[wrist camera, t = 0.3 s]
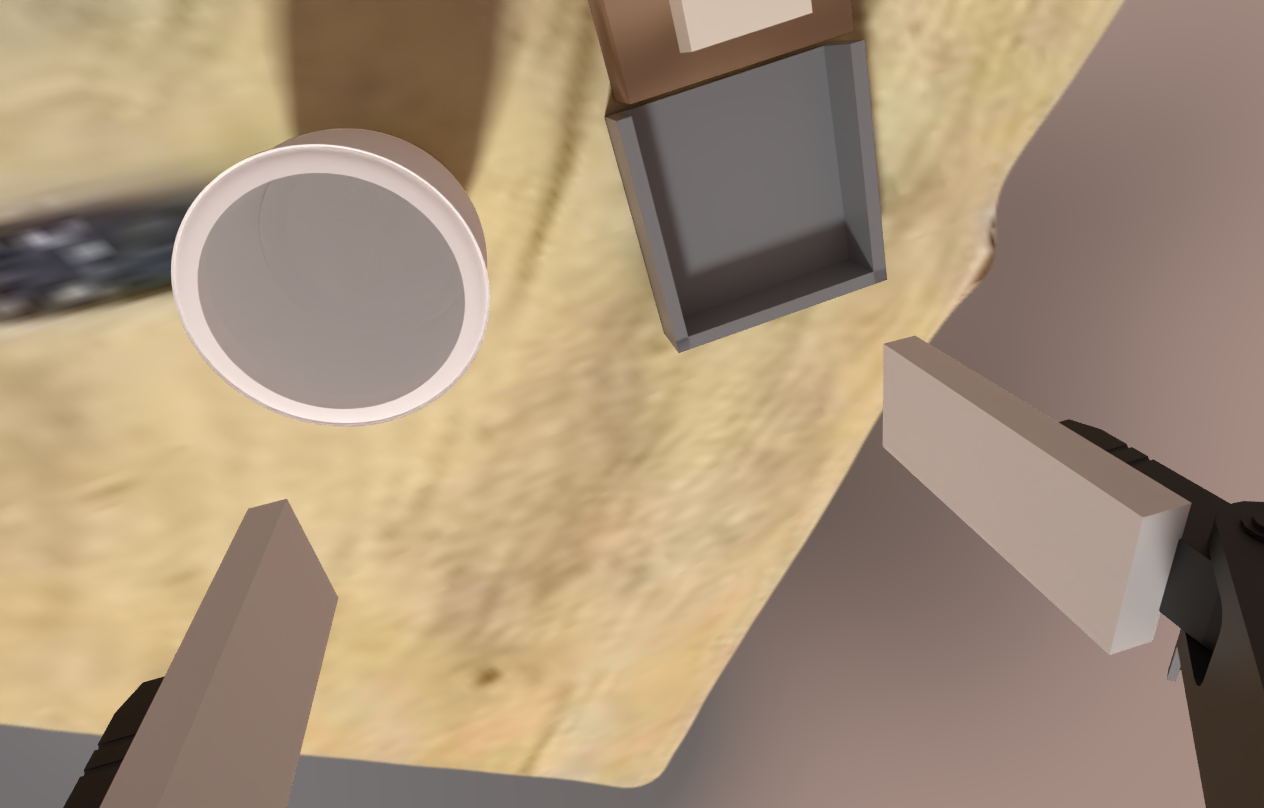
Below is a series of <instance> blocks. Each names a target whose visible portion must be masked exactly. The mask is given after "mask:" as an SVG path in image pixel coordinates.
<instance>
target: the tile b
mask: <svg viewBox="0 0 1264 808" xmlns="http://www.w3.org/2000/svg"><path fill="white" fill-rule="evenodd" d="M669 3H670V8H671V13H672V17H673V22H674V27H675V31H676V36H677V41H678V45H679V50H680V53H685V52H693V51H696V50H699V49H703V48H706V47H709V46H712V45H715V44H718V43H721V42H724V41H727V40H730V39H733V38H736V37H739V36H743V35H746V34H749V33H752V32H755V31H758V30H761V29H764V28H767V27H770V26H773V25H776V24H779V23H783V22H786V21H789V20H792V19H795V18H798V17H801V16H804V15H807V14H810V13H813V12H812V4H811V0H669Z"/></svg>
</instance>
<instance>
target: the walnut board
mask: <svg viewBox="0 0 1264 808" xmlns="http://www.w3.org/2000/svg"><path fill="white" fill-rule="evenodd" d="M588 1H589V5H590V8H591V12H592V16H593V20H594V23H595V27H596V31H597V35H598V39H599V42H600V46H601V50H602V54H603V57H604V61H605V65H606V69H607V72H608V76H609V80H610V84H611V87H612V91H613V95H614V99H615V101H617V102H622V103H627V104H633V103H636V102H639V101H642V100H645V99H648V98H651V97H654V96H657V95H660V94H663V93H666V92H669V91H672V90H675V89H679V88H682V87H685V86H688V85H691V84H694V83H697V82H700V81H703V80H706V79H709V78H712V77H715V76H718V75H721V74H724V73H727V72H730V71H733V70H736V69H739V68H743V67H746V66H749V65H752V64H755V63H758V62H761V61H764V60H767V59H770V58H773V57H776V56H779V55H782V54H785V53H788V52H791V51H794V50H797V49H800V48H804V47H807V46H810V45H813V44H816V43H819V42H822V41H825V40H828V39H831V38H834V37H837V36H840V35H843V34H846V33H849V32H852V31H854V25H853V15H852V5H851V0H811V4H812V12H813V13H810V14H807V15H804V16H801V17H798V18H795V19H792V20H789V21H786V22H783V23H779V24H776V25H773V26H770V27H767V28H764V29H761V30H758V31H755V32H752V33H749V34H746V35H743V36H739V37H736V38H733V39H730V40H727V41H724V42H721V43H718V44H715V45H712V46H709V47H706V48H703V49H699V50H696V51H693V52H685V53H680V50H679V45H678V41H677V36H676V31H675V27H674V22H673V17H672V13H671V8H670V3H669V0H588Z"/></svg>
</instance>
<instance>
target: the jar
mask: <svg viewBox="0 0 1264 808" xmlns="http://www.w3.org/2000/svg"><path fill="white" fill-rule="evenodd" d="M171 280H172V289H173V295H174V300H175V304H176V308H177V311H178V314H179V317H180V319H181V322H182V324H183V327H184V329H185V331H186V333H187V335H188V337H189V338H190V340H191V342H192V343H193V345H194V347H195V348H196V350H197V351H198V352H199V354H200V355H201V356H202V358H203V359H204V360H205V361H206V363H207V364H208V365H209V366H210V367H211V368H212V369H213V370H214V371H215V372H216V373H217V374H218V375H219V376H220V377H221V378H222V379H223V380H224V381H225V382H226V383H228V384H229V385H230V386H231V387H233V388H234V389H235V390H237V391H238V392H239V393H241V394H242V395H244V396H245V397H247V398H248V399H250V400H252V401H253V402H255V403H257V404H259V405H261V406H263V407H265V408H267V409H269V410H271V411H274V412H276V413H278V414H281V415H284V416H287V417H290V418H293V419H296V420H300V421H304V422H309V423H314V424H320V425H328V426H365V425H372V424H378V423H383V422H387V421H391V420H395V419H398V418H401V417H404V416H406V415H409V414H411V413H413V412H416V411H418V410H420V409H422V408H424V407H425V406H427V405H429V404H430V403H432V402H434V401H435V400H436V399H438V398H439V397H441V396H442V395H443V394H444V393H446V392H447V391H448V390H449V389H450V388H451V387H452V386H453V385H454V384H455V383H456V382H457V381H458V380H459V379H460V378H461V377H462V376H463V374H464V373H465V372H466V370H467V369H468V368H469V366H470V365H471V363H472V362H473V360H474V358H475V356H476V354H477V353H478V350H479V348H480V346H481V344H482V341H483V338H484V335H485V332H486V328H487V323H488V318H489V309H490V289H489V280H488V275H487V252H486V244H485V238H484V233H483V229H482V226H481V223H480V220H479V217H478V215H477V212H476V210H475V208H474V206H473V204H472V202H471V200H470V198H469V196H468V195H467V193H466V192H465V190H464V189H463V187H462V186H461V185H460V183H459V182H458V181H457V179H456V178H455V177H454V176H453V175H452V174H451V173H450V172H449V171H448V170H447V169H446V168H445V167H444V166H443V165H442V164H441V163H440V162H439V161H437V160H436V159H435V158H434V157H432V156H431V155H430V154H428V153H427V152H425V151H424V150H422V149H420V148H419V147H417V146H415V145H413V144H411V143H409V142H407V141H405V140H403V139H400V138H398V137H395V136H392V135H389V134H385V133H382V132H377V131H372V130H366V129H356V128H336V129H326V130H320V131H315V132H311V133H307V134H303V135H300V136H297V137H295V138H292V139H290V140H287V141H285V142H283V143H281V144H279V145H277V146H275V147H274V148H272V149H269V150H266V151H263V152H260V153H257V154H255V155H253V156H250V157H248V158H246V159H244V160H242V161H240V162H238V163H237V164H235V165H233V166H232V167H230V168H229V169H227V170H226V171H224V172H223V173H221V174H220V175H219V176H218V177H216V178H215V179H214V180H213V181H212V182H211V183H209V184H208V185H207V186H206V187H205V188H204V190H203V191H202V192H201V193H200V194H199V195H198V196H197V198H196V199H195V200H194V202H193V203H192V205H191V206H190V208H189V209H188V211H187V213H186V215H185V216H184V218H183V221H182V223H181V225H180V227H179V230H178V233H177V236H176V239H175V243H174V248H173V254H172V263H171Z"/></svg>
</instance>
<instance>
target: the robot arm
mask: <svg viewBox="0 0 1264 808" xmlns="http://www.w3.org/2000/svg"><path fill="white" fill-rule="evenodd" d="M883 447H884V448H885V449H886V450H887V451H888V452H889V453H890V454H892V455H893V456H894V457H895V458H896V459H897V460H898V461H899V462H900V463H901V464H903V465H904V466H905V467H906V468H907V469H908V470H909V471H910V472H911V473H912V474H913V475H914V476H915V477H917V478H918V479H919V480H920V481H921V482H922V483H923V484H924V485H925V486H926V487H927V488H929V489H930V490H931V491H932V492H933V493H934V494H935V495H936V496H937V497H938V498H939V499H940V500H942V501H943V502H944V503H945V504H946V505H947V506H948V507H949V508H950V509H951V510H953V511H954V512H955V513H956V514H957V515H958V516H959V517H960V518H961V519H962V520H963V521H964V522H966V523H967V524H968V525H969V526H970V527H971V528H972V529H973V530H974V531H975V532H976V533H978V534H979V535H980V536H981V537H982V538H983V539H984V540H985V541H986V542H987V543H988V544H989V545H991V546H992V547H993V548H994V549H995V550H996V551H997V552H998V553H999V554H1000V555H1001V556H1002V557H1004V558H1005V559H1006V560H1007V561H1008V562H1009V563H1010V564H1012V566H1014V567H1015V568H1016V569H1017V570H1018V571H1019V572H1020V573H1021V574H1022V575H1023V576H1024V577H1025V578H1026V579H1028V580H1029V581H1030V582H1031V583H1032V584H1033V585H1034V586H1035V587H1036V588H1038V590H1039V591H1041V592H1042V593H1043V594H1044V595H1045V596H1046V597H1047V598H1048V599H1049V600H1050V601H1051V602H1053V603H1054V604H1055V605H1056V606H1057V607H1058V608H1059V609H1060V610H1061V611H1062V612H1063V613H1064V614H1066V615H1067V616H1068V617H1069V618H1070V619H1071V620H1072V621H1073V622H1074V623H1075V624H1076V625H1078V626H1079V627H1080V628H1081V629H1082V630H1083V631H1084V632H1085V633H1086V634H1087V635H1088V636H1090V637H1091V638H1092V639H1093V640H1094V641H1095V642H1096V643H1097V644H1098V645H1099V646H1100V647H1101V648H1103V649H1104V650H1105V651H1106V652H1107V653H1108V654H1109V655H1111V654H1114V653H1117V652H1120V651H1124V650H1126V649H1129V648H1133V647H1135V646H1139V645H1142V644H1145V643H1148V642H1151V641H1153V637H1154V634H1155V630H1156V626H1157V623H1158V620H1159V616H1160V613H1162V614H1163V615H1165V616H1166V617H1167V618H1169V619H1170V620H1171V621H1172V622H1174V623H1175V624H1176V625H1177V626H1179V627H1180V628H1181V630H1180V634H1179V637H1178V640H1177V643H1176V647H1175V650H1174V653H1173V656H1172V660H1171V663H1170V666H1169V670H1168V676H1167V680H1171V681H1176V679H1177V676H1178V673H1179V670H1182V676H1183V682H1184V687H1185V693H1186V698H1187V703H1188V710H1189V715H1190V721H1191V726H1192V732H1193V738H1194V743H1195V749H1196V755H1197V760H1198V765H1199V771H1200V777H1201V782H1202V788H1203V793H1204V799H1205V805H1206V808H1264V502H1250V501H1249V502H1247V501H1243V502H1237V503H1233V504H1230V503H1228V502H1226V501H1225V500H1223V499H1221V498H1219V497H1218V496H1216V495H1214V494H1212V493H1211V492H1209V491H1207V490H1206V489H1203V488H1202V487H1200V486H1199V485H1197V484H1195V483H1193V482H1192V481H1190V480H1188V479H1186V478H1185V477H1183V476H1181V475H1179V474H1178V473H1176V472H1174V471H1172V470H1171V469H1169V468H1167V467H1166V466H1164V465H1162V464H1160V463H1159V462H1157V461H1155V460H1149V459H1148V456H1146V455H1144V454H1143V453H1141V452H1139V451H1138V450H1136V449H1134V448H1132V447H1131V448H1128V447H1127V444H1126V443H1124V442H1122V441H1120V440H1119V439H1117V438H1115V437H1113V436H1111V435H1110V434H1108V433H1106V432H1105V431H1103V430H1101V429H1098V428H1095V427H1092V426H1088V425H1085V424H1082V423H1079V422H1075V421H1073V420H1065V421H1062V422H1057V421H1055V420H1053V419H1052V418H1050V417H1048V416H1047V415H1045V414H1044V413H1042V412H1040V411H1038V410H1037V409H1035V408H1034V407H1032V406H1030V405H1029V404H1027V403H1025V402H1024V401H1022V400H1020V399H1019V398H1017V397H1016V396H1014V395H1012V394H1010V393H1009V392H1007V391H1006V390H1004V389H1002V388H1001V387H999V386H997V385H996V384H994V383H992V382H991V381H989V380H987V379H986V378H984V377H982V376H981V375H979V374H977V373H976V372H974V371H972V370H971V369H969V368H968V367H966V366H964V365H963V364H961V363H959V362H958V361H956V360H954V359H953V358H951V357H949V356H947V355H946V354H944V353H943V352H941V351H939V350H938V349H936V348H934V347H933V346H931V345H930V344H928V343H926V342H925V341H923V340H921V339H920V338H918V337H916V336H912V337H908V338H904V339H900V340H897V341H893V342H889V343H885V344H884V367H883ZM337 600H338V596H337V594H336V592H335V591H334V589H333V587H332V585H331V583H330V581H329V579H328V577H327V575H326V573H325V571H324V569H323V567H322V566H321V564H320V562H319V560H318V558H317V556H316V554H315V552H314V550H313V548H312V546H311V544H310V542H309V541H308V539H307V537H306V535H305V533H304V531H303V529H302V527H301V525H300V523H299V521H298V519H297V517H296V515H295V514H294V512H293V510H292V508H291V506H290V504H289V502H288V500H287V499H284V500H281V501H277V502H273V503H269V504H265V505H261V506H257V507H254V508H250V509H248V510H247V512H246V514H245V516H244V518H243V520H242V522H241V524H240V526H239V528H238V530H237V532H236V534H235V536H234V538H233V540H232V542H231V544H230V546H229V548H228V550H227V552H226V554H225V556H224V558H223V561H222V563H221V565H220V567H219V569H218V571H217V573H216V575H215V577H214V579H213V581H212V583H211V585H210V587H209V589H208V591H207V593H206V595H205V597H204V599H203V601H202V603H201V605H200V607H199V609H198V611H197V613H196V615H195V617H194V619H193V621H192V623H191V625H190V627H189V629H188V631H187V633H186V635H185V637H184V639H183V641H182V643H181V645H180V647H179V649H178V651H177V653H176V655H175V657H174V659H173V661H172V663H171V665H170V667H169V669H168V671H167V673H166V675H165V677H161V678H157V679H154V680H150V681H147V682H143V683H142V684H141V685H140V686H139V687H138V689H137V690H136V691H135V692H134V693H133V694H132V695H131V696H130V697H129V698H128V699H127V701H126V702H125V703H124V704H123V705H122V706H121V707H120V708H119V709H118V710H117V712H116V713H115V714H114V716H113V718H112V720H111V721H110V723H109V725H108V727H107V729H106V731H105V732H104V734H103V736H102V738H101V740H100V742H99V743H98V746H99V748H98V750H95V751H94V753H93V754H92V756H91V758H90V760H89V762H88V763H87V765H86V767H85V769H84V772H85V774H84V776H82V777H80V778H79V780H78V782H77V784H76V786H75V787H74V789H73V791H72V793H71V795H70V796H69V798H68V800H67V802H66V804H65V806H64V807H63V808H287V804H288V799H289V796H290V792H291V788H292V784H293V780H294V776H295V772H296V768H297V763H298V759H299V755H300V751H301V747H302V743H303V739H304V735H305V731H306V727H307V723H308V719H309V715H310V710H311V706H312V702H313V698H314V694H315V690H316V686H317V682H318V678H319V674H320V670H321V666H322V662H323V658H324V653H325V649H326V645H327V641H328V637H329V633H330V629H331V625H332V621H333V617H334V613H335V609H336V605H337Z"/></svg>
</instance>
